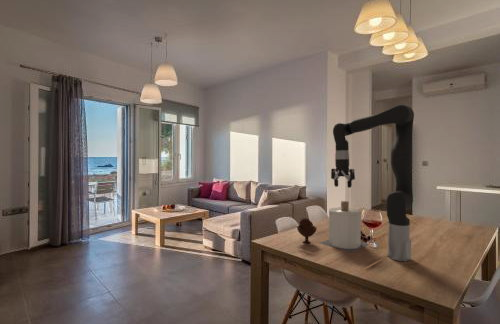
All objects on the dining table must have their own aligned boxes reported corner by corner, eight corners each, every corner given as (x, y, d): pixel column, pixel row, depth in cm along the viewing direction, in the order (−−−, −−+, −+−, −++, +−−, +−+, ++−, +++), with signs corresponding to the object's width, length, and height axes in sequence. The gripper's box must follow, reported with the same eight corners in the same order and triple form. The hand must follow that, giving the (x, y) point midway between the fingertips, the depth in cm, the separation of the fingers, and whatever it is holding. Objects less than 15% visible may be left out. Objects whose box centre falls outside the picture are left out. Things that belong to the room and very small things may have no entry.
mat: (370, 245, 155) (370, 244, 155) (351, 253, 142) (351, 252, 142) (339, 236, 170) (339, 236, 170) (319, 243, 158) (319, 242, 157)
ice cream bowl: (317, 247, 152) (317, 220, 151) (296, 246, 154) (296, 219, 154) (316, 241, 162) (316, 216, 162) (297, 240, 165) (297, 215, 164)
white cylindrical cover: (366, 244, 155) (367, 202, 154) (350, 251, 144) (350, 205, 143) (339, 236, 168) (339, 198, 167) (322, 242, 157) (322, 201, 156)
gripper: (357, 158, 152) (357, 187, 152) (336, 158, 164) (336, 185, 164) (348, 158, 148) (349, 188, 148) (327, 158, 160) (328, 186, 160)
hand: (342, 187), depth 156 cm, fingers open, 8 cm apart
